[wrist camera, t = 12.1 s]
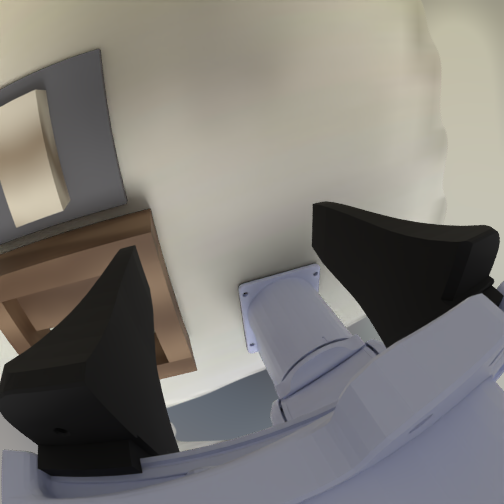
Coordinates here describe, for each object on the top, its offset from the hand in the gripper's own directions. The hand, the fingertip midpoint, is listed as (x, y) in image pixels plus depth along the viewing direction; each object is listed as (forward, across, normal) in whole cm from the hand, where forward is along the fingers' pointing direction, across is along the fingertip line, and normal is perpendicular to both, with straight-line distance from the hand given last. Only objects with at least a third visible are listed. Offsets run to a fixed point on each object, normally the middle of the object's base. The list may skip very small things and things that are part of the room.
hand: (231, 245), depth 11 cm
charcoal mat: (+10, +11, -5) cm, 16 cm away
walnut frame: (+10, +11, +8) cm, 17 cm away
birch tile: (+10, +11, -5) cm, 15 cm away
